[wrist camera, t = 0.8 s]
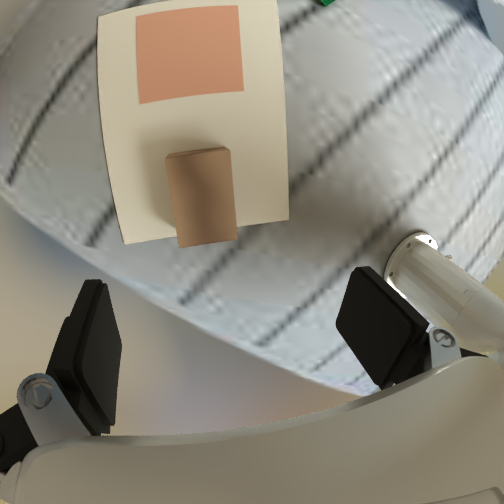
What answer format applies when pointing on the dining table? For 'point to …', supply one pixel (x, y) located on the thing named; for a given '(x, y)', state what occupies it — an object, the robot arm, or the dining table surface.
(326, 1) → the candy
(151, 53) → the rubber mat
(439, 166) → the dining table surface
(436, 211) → the dining table surface
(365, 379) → the dining table surface
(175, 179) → the walnut card box
